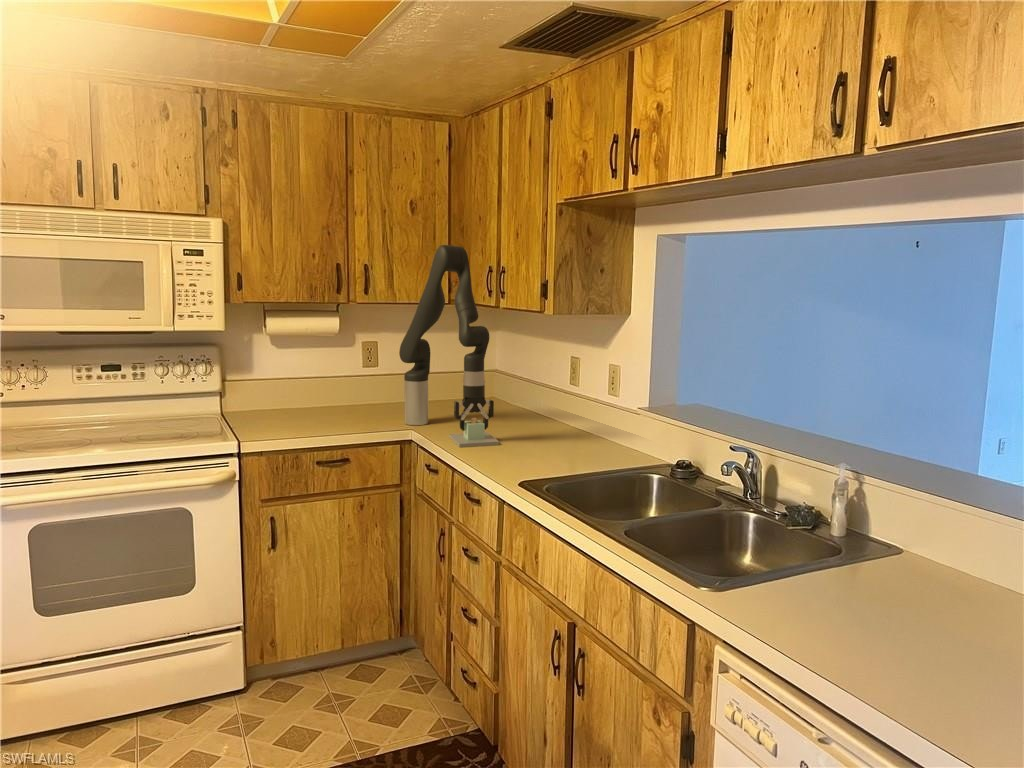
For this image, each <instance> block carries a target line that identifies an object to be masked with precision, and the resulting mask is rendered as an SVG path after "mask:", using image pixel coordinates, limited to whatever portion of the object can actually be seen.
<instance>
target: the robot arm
mask: <svg viewBox="0 0 1024 768" xmlns="http://www.w3.org/2000/svg"><path fill="white" fill-rule="evenodd" d="M470 268H471V267H470V261H469V256H468V252H467V251H466V249H465V248H464V247H463V246H458V245H450V244H442V245H439V246H438V247H437V249H436V251H435V253H434V256H433V258H432V263H431V266H430V270H429V274H428V278H427V281H426V284H425V286H424V289H423V292H422V294H421V296H420V298H419V302H418V304H417V307H416V310H415V313H414V315H413V318H412V321H411V323H410V325H409V327H408V329H407V331H406V334H405V335H404V337H403V339H402V341H401V344H400V345H399V358H400V360H401V362H402V363H405V364H414V365H413V367H412V368H410V370H408V371H406V372H405V373H404V376H403V377H404V381H403V382H404V424H405V425H407V426H408V425H409V426H410V425H411V426H423V425H428V424H429V375H430V372H431V369H430V368H431V347H430V344H429V342H428V340H426V339H425V338H422V337H423V336H424V335H425V333H427V332H428V331H429V330H430V329H431V328H432V327H433V326H434V325H435V324H436V323H437V322H438V321H439V319H440V318H441V315H442V313H443V311H444V308H445V306H446V298H445V293H444V291H443V290H444V289H443V285H442V282H443V278H444V276H445V274H446V272H450V273H451V272H452V273H456V275H457V277H458V286H457V289H456V291H455V295H454V307H455V309H456V313H457V314H456V315H457V318H458V341H459V342H460V343H459V344H460V345H462V346H463V347H466V348H474V350H473V351H472V352H469V353H467V354H465V355H464V358H463V377H462V378H463V379H462V383H463V384H462V385H463V386H462V396H463V397H462V400H461V401H458V400H454V402H453V404H454V405H453V416H454V418H455V419H456V420H459V429H460V430H461V431H462V432H464V431H465V421H466V420H465V418H466V417H467V416H468V414H469V413H471V414H472V413H480V414H481V415H482V417H483V419H482V422H483V423H484V424H485V431H486V430H487V429H488V428H489V419H491V418H494V414H495V413H494V409H495V408H494V403H495V402H494V400H492V399H486V397H485V395H486V394H485V393H486V385H485V384H486V379H485V378H486V374H485V358H486V353H487V350H488V346H489V343H490V332H489V330H488V328H487V327H485V326H484V325H478V326H477V325H476V326H475V325H473V326H470V324H473V323H475V322H476V321H477V320H478V319H479V311H478V309H477V304H476V301H475V298H474V293H473V287H472V279H471V278H472V277H471V269H470ZM486 405H487V407H488V412H487V413H486V411H485V409H484V407H485V406H486ZM462 406H463V407H464V408H463V409H462V411H461V414H460V408H461V407H462Z"/></svg>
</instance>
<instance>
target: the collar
mask: <svg viewBox="0 0 1024 768" xmlns="http://www.w3.org/2000/svg"><path fill="white" fill-rule="evenodd" d="M485 432H486V430H485V424H484V423H483V420H477V423H476V424H471V420H465V431H463V433H464V437H465V438H466V439H467V440H478V439H485Z"/></svg>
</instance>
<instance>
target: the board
mask: <svg viewBox="0 0 1024 768" xmlns="http://www.w3.org/2000/svg"><path fill="white" fill-rule="evenodd" d="M470 421H471V424H476V423H477V421H478V418H477V417H471V418H470ZM449 438H450V439H451V440H452V441H453V442H454V444H455V445H457V446H458V447H459V448H473V447H487V446H489V447H490V446H499V445H500V441H499V440H498V439H496V438H495V436H493V435H492V434H490V432H488V431H485V439H478V440H467V439H466V438H465V437H464V432H463V433H462V432H461V433H450V434H449Z"/></svg>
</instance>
